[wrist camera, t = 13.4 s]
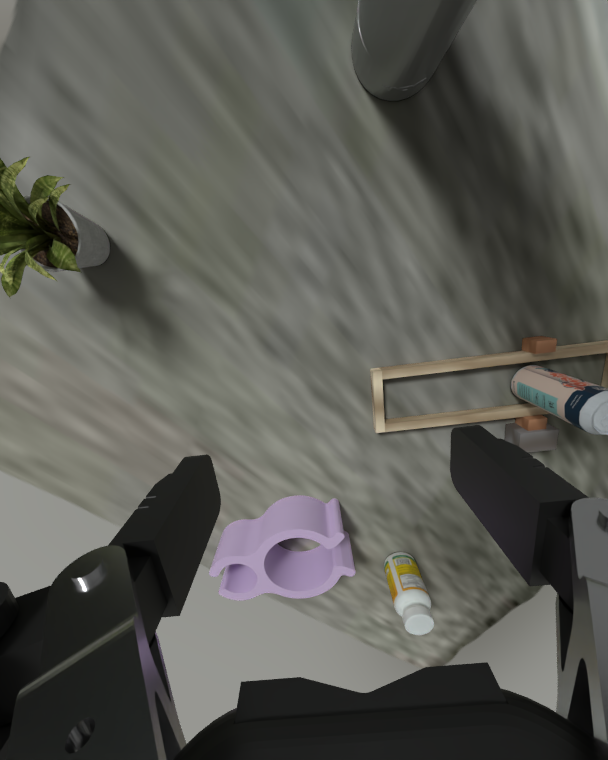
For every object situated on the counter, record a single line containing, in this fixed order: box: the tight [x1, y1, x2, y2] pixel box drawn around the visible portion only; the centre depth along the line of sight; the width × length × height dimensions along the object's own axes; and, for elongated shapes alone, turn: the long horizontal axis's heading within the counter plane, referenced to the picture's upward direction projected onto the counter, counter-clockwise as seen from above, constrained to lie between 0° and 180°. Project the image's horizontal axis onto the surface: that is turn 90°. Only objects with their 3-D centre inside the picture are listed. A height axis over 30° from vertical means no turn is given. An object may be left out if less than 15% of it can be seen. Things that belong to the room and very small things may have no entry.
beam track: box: [370, 336, 608, 453], centre depth 40 cm, size 15×32×3 cm, turn 97°
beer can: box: [511, 365, 608, 435], centre depth 35 cm, size 5×5×12 cm
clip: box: [209, 496, 356, 600], centre depth 45 cm, size 20×12×7 cm, turn 106°
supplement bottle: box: [384, 552, 434, 635], centre depth 45 cm, size 5×5×10 cm
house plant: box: [0, 157, 110, 297], centre depth 28 cm, size 14×14×16 cm
